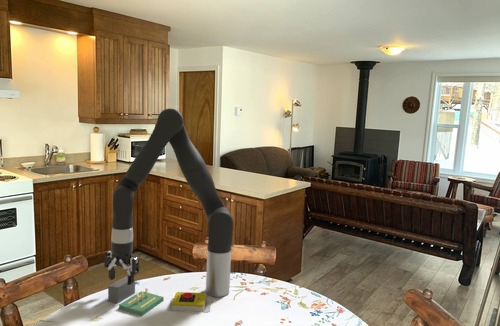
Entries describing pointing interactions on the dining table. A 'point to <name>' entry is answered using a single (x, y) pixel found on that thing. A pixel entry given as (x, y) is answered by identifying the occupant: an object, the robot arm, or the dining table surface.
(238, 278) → the dining table surface
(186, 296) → the emergency button
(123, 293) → the block
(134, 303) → the header board
